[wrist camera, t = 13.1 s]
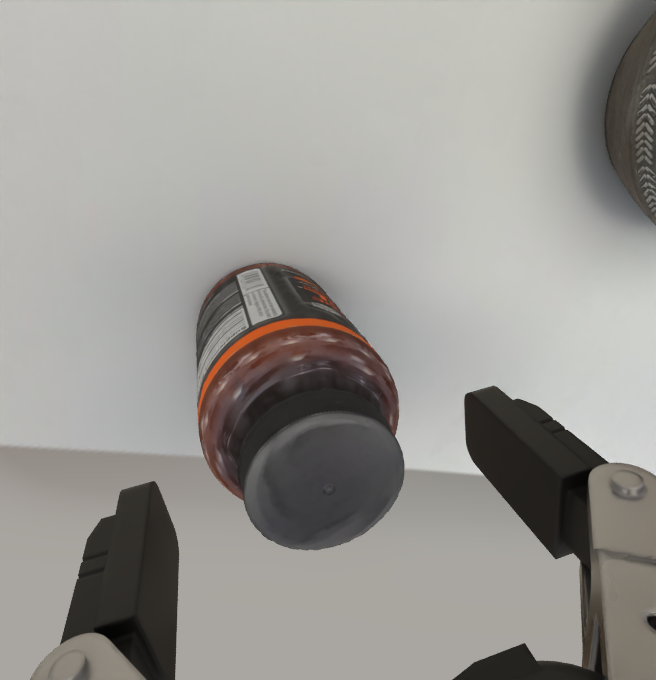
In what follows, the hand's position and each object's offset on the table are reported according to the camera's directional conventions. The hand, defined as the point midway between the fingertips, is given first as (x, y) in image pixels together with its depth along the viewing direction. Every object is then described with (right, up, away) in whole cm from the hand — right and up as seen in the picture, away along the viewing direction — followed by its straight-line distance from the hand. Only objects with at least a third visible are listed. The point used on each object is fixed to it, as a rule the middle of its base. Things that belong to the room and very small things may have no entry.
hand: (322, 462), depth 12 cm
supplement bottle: (-3, +4, +10) cm, 11 cm away
